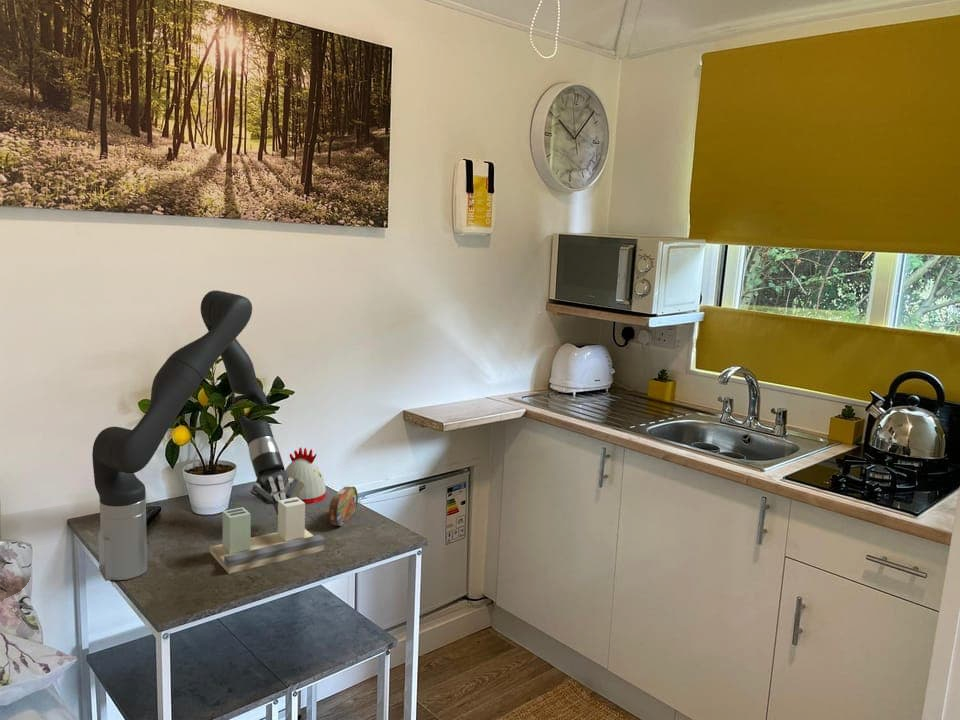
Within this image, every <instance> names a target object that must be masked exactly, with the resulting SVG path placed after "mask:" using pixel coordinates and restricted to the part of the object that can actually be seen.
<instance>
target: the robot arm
mask: <svg viewBox="0 0 960 720" xmlns="http://www.w3.org/2000/svg"><path fill="white" fill-rule="evenodd" d="M199 309H200V315H201V318H202V322H203V323H204V326H205V327H206V329H207V332H206V333H205V334H204V335H202V336H200V337H199V338H196V340H193V341H191V342H189V343H188V344H185V345H184V346H182V347H181V348H179V349H177V350H175V351H174V352H173V353H171V354H170V355H169V356H168V358H167V360H165V362H164V363H163V364H162V366H161V367H160V368H159V370H158V371H157V373H156V374H155V376H154V378H153V380H152V385H151V392H150V401H149V405H148V408H147V410H146V412H145V413H144V415H143V416H142V418H141V419H140V420H139V422H138V423H137V424H136V425H135V427H134V428H133V429H130V428H129V429H128V428H125V427H121V426H108V427H106V428H104V429H102V430H101V431H100V432H99V433H98V434H97V436H96V437H95V440H94V442H93V444H92V455H91V456H92V459H91V460H92V468H93V478H94V487H95V490H96V492H97V493H98V497H99V520H100V526H99V527H100V530H98V533H97V534H98V564H99V572H100V574H101V576H102V578H103V579H104V581H105V582H107V581H123V580H124V581H125V580H130V579H131V580H132V579H133V578H137V577H139V576H141V575H143V574H144V573H146V571H147V570H148V549H147V548H148V547H147V546H148V545H147V543H148V540H147V539H148V538H147V536H148V535H147V506H146V505H147V504H146V503H147V500H146V497H147V493H146V492H147V491H146V485H145V483H144V482H142V481H141V480H140V479H139V478H138V476H136V474H135V473H139V472H140V471H142V470H143V469H144V468H146V466H147V465H148V464H149V463H150V461H151V460H152V458H153V457H154V456H155V454H156V452H157V450H158V448H159V446H160V445H161V443H162V441H163V439H164V437H165V436H166V434H167V432H168V430H169V429H170V428H171V425H172V424H173V423H174V421H175V420H176V418H177V416H178V415H179V413H180V412H181V411H182V409H183V408H184V406H185V405H186V403H187V402H188V401H189V400H190V398H191V397H192V396H193V395H194V394H195V391H197V389H198V387H200V385H201V383H202V382H203V380H204V379H205V377H206V376H207V374H208V373H209V372H210V370H211V369H212V367H213V366H214V365H215V363H216V362H217V361H218V360H219V358H221V360H222V362H223V365H224V368H225V373H226V375H227V379H228V383H229V385H230V389H231V391H232V392H233V393H234V394H237V395H236V396H233V397H232V398H231V399H232V403H233V404H235V403H236V402H237V401H239V400H242V399H248V400H247V401H249V400H250V401H252V402H253V403H254V402H255V403H256V404H259V405H263V406H271V403H270V402H269V403H270V404H269V403H268V402H267V399H266V398H268V396H267V395H266V393H265V392H264V391H263V388H262V387H261V386H260V383H259V381H258V379H257V376H256V371H255V367H254V364H253V361H252V359H251V358H250V355H249V354H248V353H247V351H246V350H245V349H244V347H243V345H241V343H240V342H239V341H238V339H237V337H238V336H239V335H240V334H241V333H242V332H243V330H244V329H245V328H246V327H247V325H248V323H249V322H250V320H251V317H252V313H253V304H252V302H251V301H250V299H249V298H247V297H246V296H243V295H240V294H236V293H232V292H226V291H222V290H211V291H208V292H207V293H206V294H205V295H204V296H203V298H202V299H201V303H200V308H199ZM230 414H231V416H232V417H233V415H232V413H231V412H230ZM239 422H240V424H241V427H242V429H241V430H243V431H242V433H243V432H244V433H243V435H244V438H245V441H246V444H247V447H248V455H249V457H250V458H249V460H250V462H251V464H252V468H253V470H254V474H255V477H256V480H255V481H256V483H255V484H254V485H253V486H252V487H251V489H250V491H249V492H250V494H252V495H253V496H255V497H256V498H257V499H259V500H260V502H261V501H262V503H265V505H273V507H274V510H275V513H276V516H278V500H284V499H289V498H290V497H291V496H292V494H293V491H294V489H295V487H296V484H297V482H298V479H297V478H295V479H292V478H290V477H289V476H288V474H287V473H286V472H285V469H286V467H285V466H284V465H285V464H284V461H283V459H282V456H281V452H280V450H279V446H278V445H277V442H276V440H275V437H274V434H273V431H272V429H271V425H270V423H269V421H267V420H265V419H264V420H263V419H248V418H246V417H245V416H243V415H242V416H241V417H240V418H239ZM241 427H240V428H241ZM287 482H288V487H289V489H288V491H287V494H286V495H285V488H284V487H285V485H286V483H287Z"/></svg>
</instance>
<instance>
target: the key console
mask: <svg viewBox="0 0 960 720" xmlns="http://www.w3.org/2000/svg"><path fill="white" fill-rule="evenodd" d="M325 548H326V538H325V537H323V536H322V535H320V534H318V535H313V534H312V533H311V532H310V531H308V530H307V528H305V537H302V538H298V539H293V540H289V541H285V540H284V539H283V538H282V537H280V536H279V535H278V531H277V532H272V533H271V532H270V533H267V534H262V535H257V536H253V537H252V536H251V549H249V550H245V551H241V552H236V553H232V554H230V553H229V552H228V551H227V550H226V549H225V548H224V547H223V543H220V544H216V545H212V546H209V553H210V554H211V556H213V558H214V559H215V560H216V561H217V562H218V563H219V565H220V566H221V567H222V568H223V569H224V570H225V571H226V572H227V573H228V575H229V574H232V573H233V574H234V573H238V572H241V571H245V570H249V569H254V568H257V567H261V566H265V565H271V564H276V563H278V562H282V561H287V560H290V559H295V558H299V557H303V556H307V555H311V554H315V553H320V552H323V551H325V550H326V549H325Z"/></svg>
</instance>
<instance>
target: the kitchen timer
mask: <svg viewBox="0 0 960 720" xmlns="http://www.w3.org/2000/svg"><path fill="white" fill-rule="evenodd" d="M293 453H294V455H293V454H292V453H290V454H289V458H290V461H291V462H290V463H289V464H288V465H287V467H285V472H286V473H287V474H288V476H289V477H290V478H292V479H295V478H297V479H298V482H297V484H296V487H295V489H294V491H293V494H292V496H291V497H290V498H294V497H297V498H299V499H300V500H301V501H303V502H304V503H305V504H306V505H312V503H313V504H315V502H316V503H319V502H321V501H323V500H324V499H325V498H326V496H327V495H326V494H327V493H326V492H327V489H326V488H327V487H326V483H325V480H324V477H323V474H322V471H321V469H320V468H319V467H318V465H317V464H316V463H315V462H314V461H315V459H316V457H317V454H318V453H315V454H314V455H313V448H311V449H310V450H309V452H308V451H307V447H305V448H304V449H303V448H302V447H300V446H299V448H298V451H297V450H294V451H293ZM284 488H285V495H286V494H287V491H288V489H289V487H288V482H287V483H286V485H285V487H284Z"/></svg>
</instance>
